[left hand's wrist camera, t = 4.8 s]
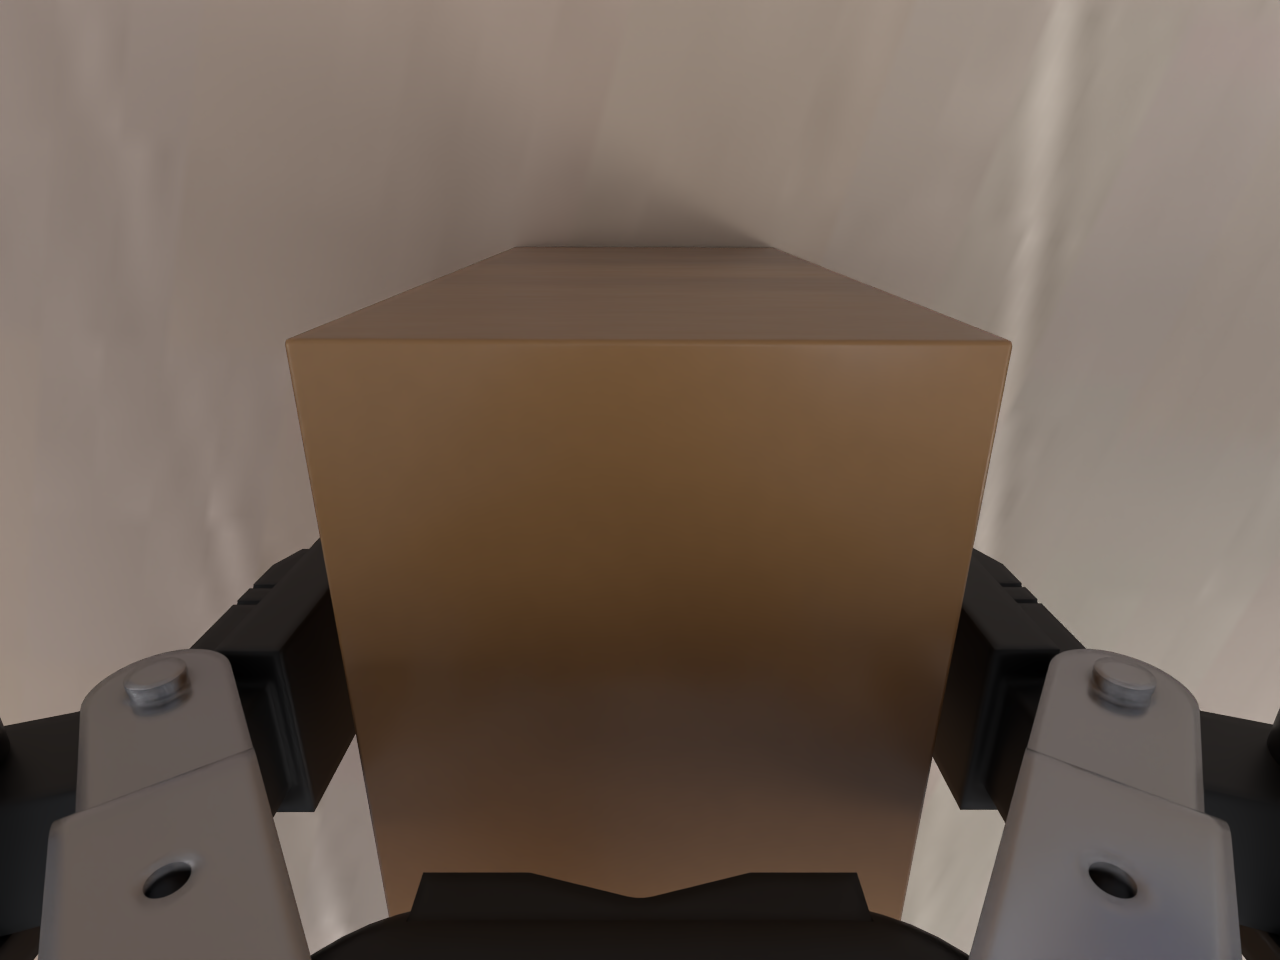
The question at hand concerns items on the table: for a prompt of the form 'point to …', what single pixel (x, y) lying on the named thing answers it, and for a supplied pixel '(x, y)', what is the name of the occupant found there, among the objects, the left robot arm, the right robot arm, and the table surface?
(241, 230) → the table surface
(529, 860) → the box
